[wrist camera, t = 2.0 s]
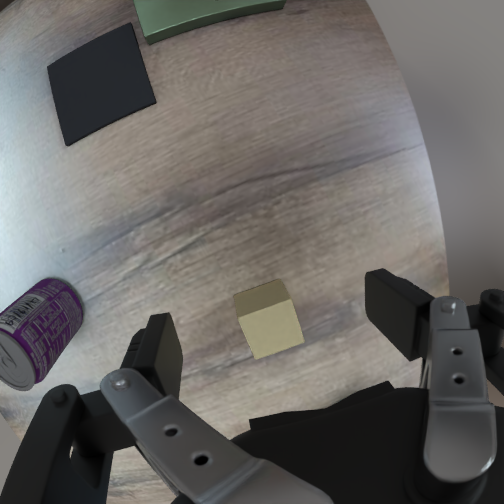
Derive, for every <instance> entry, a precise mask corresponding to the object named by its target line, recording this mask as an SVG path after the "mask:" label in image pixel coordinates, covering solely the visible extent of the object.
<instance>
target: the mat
mask: <svg viewBox="0 0 504 504" xmlns="http://www.w3.org/2000/svg"><path fill="white" fill-rule="evenodd" d="M47 69H48V74H49V79H50V84H51V89H52V94H53V98H54V103H55V107H56V111H57V115H58V119H59V123H60V127H61V130H62V134H63V138H64V141H65V145H66V146H70V145H71V144H73V143H75V142H77V141H78V140H80V139H82V138H84V137H86V136H87V135H89V134H91V133H93V132H95V131H97V130H99V129H101V128H103V127H105V126H107V125H109V124H111V123H113V122H115V121H117V120H119V119H121V118H123V117H125V116H128V115H130V114H132V113H134V112H136V111H139V110H141V109H143V108H146V107H148V106H150V105H153V104H155V103H156V99H155V96H154V93H153V90H152V87H151V84H150V81H149V78H148V75H147V72H146V69H145V66H144V62H143V59H142V56H141V53H140V50H139V46H138V43H137V40H136V37H135V33H134V30H133V27H132V24H131V22H130V23H128V24H125V25H123V26H121V27H119V28H116V29H114V30H112V31H110V32H108V33H106V34H104V35H102V36H100V37H98V38H96V39H94V40H92V41H90V42H88V43H86V44H84V45H83V46H81V47H79V48H77V49H75V50H74V51H72V52H70V53H68V54H67V55H65V56H63V57H62V58H60V59H58V60H57V61H55V62H54V63H52V64H51V65H49V66H47Z"/></svg>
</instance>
